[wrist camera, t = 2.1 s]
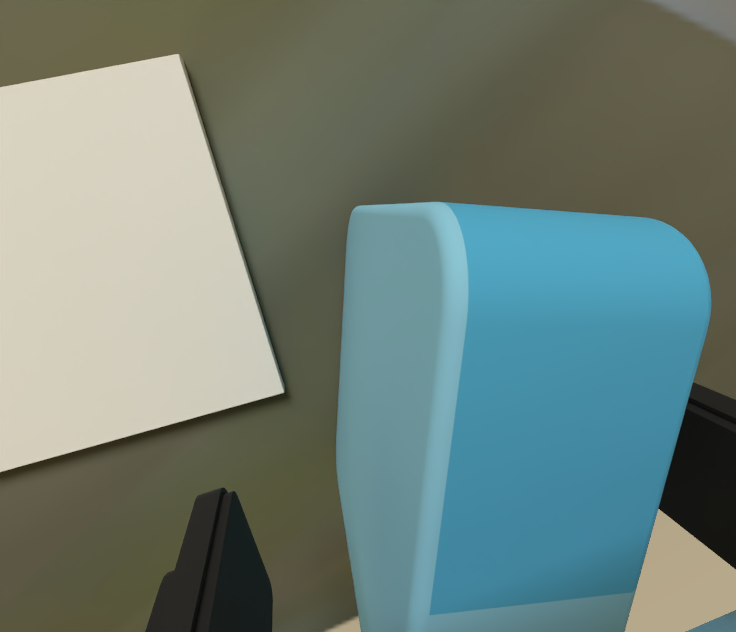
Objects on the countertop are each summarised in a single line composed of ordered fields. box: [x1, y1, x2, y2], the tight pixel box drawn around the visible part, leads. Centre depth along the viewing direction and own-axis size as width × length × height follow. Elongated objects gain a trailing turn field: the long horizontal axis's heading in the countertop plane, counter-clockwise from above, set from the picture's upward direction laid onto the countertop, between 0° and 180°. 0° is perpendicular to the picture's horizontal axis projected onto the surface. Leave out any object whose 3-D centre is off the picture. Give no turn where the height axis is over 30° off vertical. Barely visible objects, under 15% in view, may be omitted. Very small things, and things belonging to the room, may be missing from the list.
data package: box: [336, 202, 711, 632], centre depth 13 cm, size 12×4×12 cm, turn 177°
